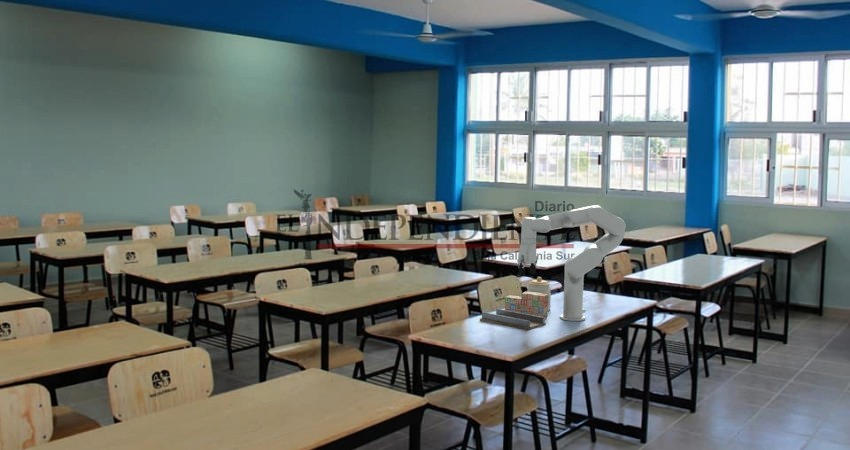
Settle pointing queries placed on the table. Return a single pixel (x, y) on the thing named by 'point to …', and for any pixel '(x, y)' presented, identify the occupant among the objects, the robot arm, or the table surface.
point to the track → (513, 319)
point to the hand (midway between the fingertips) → (527, 274)
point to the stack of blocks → (528, 304)
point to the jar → (540, 288)
